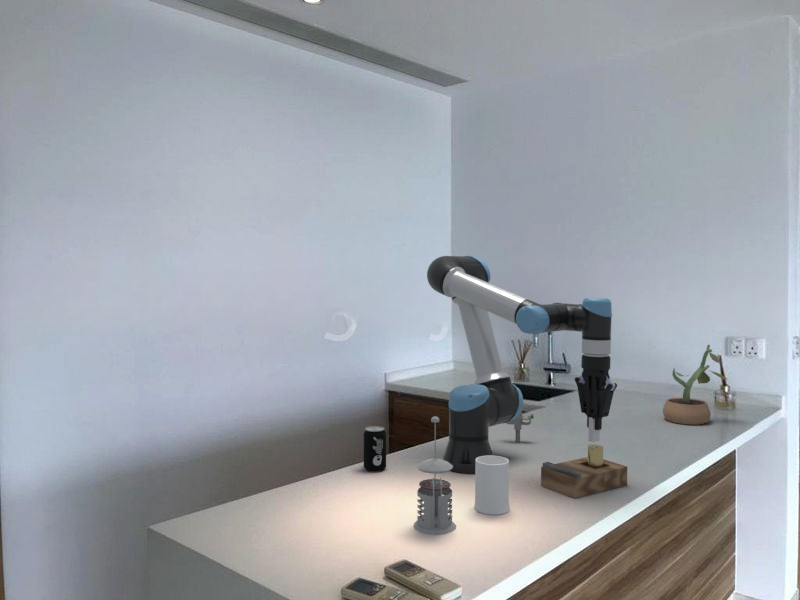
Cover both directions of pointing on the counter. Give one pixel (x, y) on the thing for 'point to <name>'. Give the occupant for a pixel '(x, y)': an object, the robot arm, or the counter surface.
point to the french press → (434, 498)
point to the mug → (492, 485)
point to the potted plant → (685, 407)
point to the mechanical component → (518, 422)
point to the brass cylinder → (595, 456)
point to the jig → (582, 477)
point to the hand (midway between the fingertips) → (593, 440)
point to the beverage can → (374, 448)
